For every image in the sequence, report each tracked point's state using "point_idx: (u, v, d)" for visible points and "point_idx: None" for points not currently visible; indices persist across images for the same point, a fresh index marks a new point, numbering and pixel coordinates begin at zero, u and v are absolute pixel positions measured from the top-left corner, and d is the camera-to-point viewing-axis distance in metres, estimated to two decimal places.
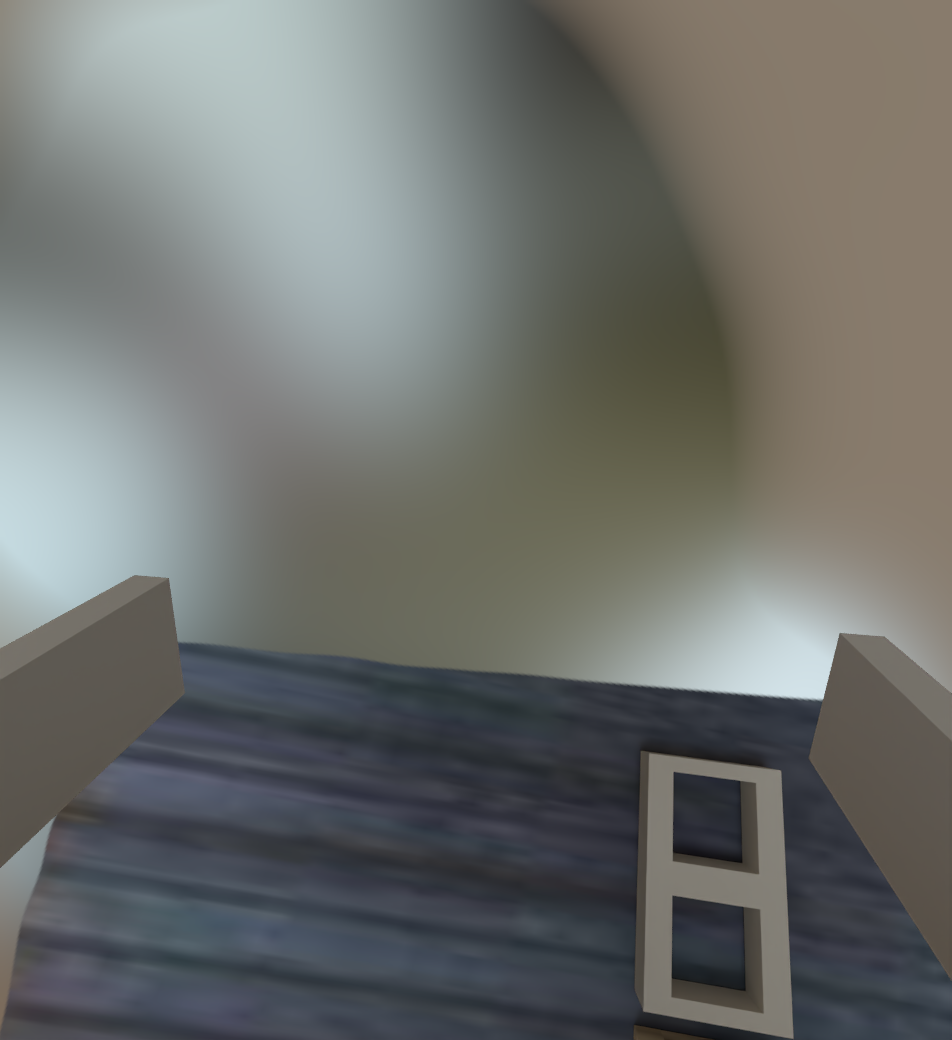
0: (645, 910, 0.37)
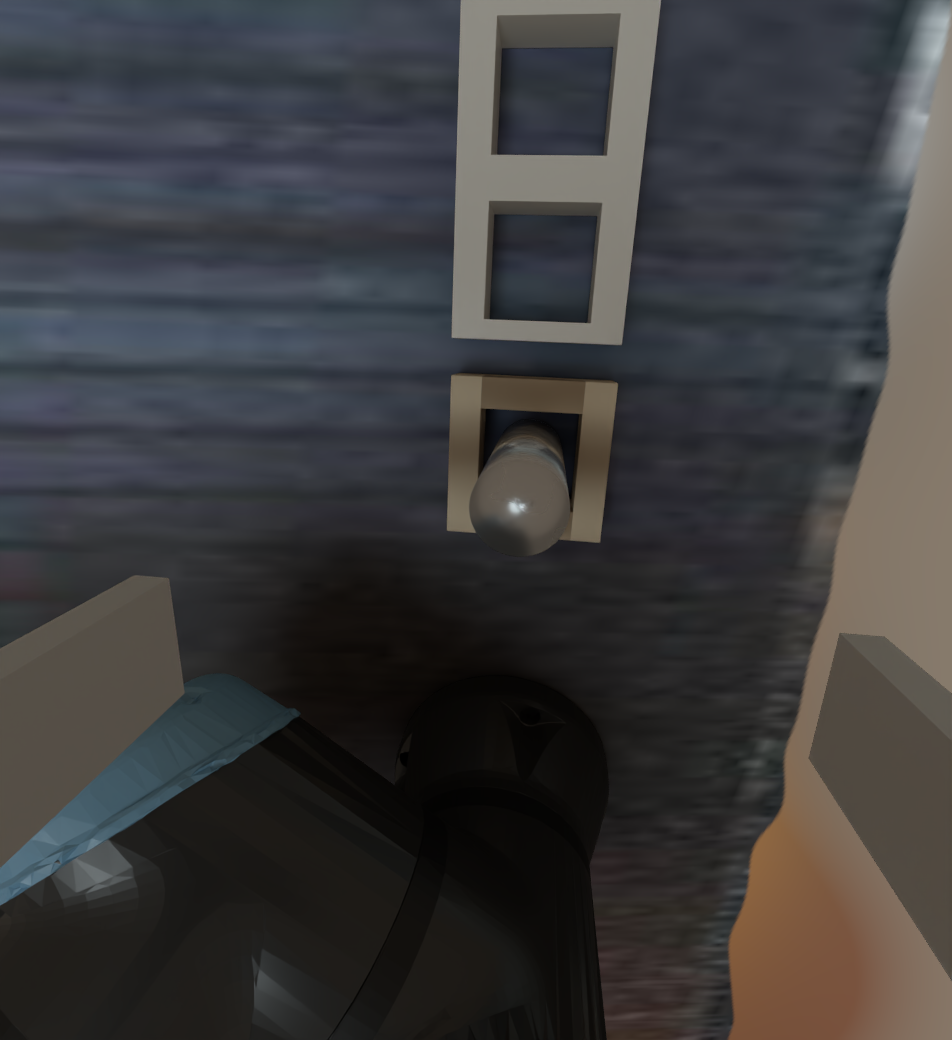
0: (455, 225, 0.29)
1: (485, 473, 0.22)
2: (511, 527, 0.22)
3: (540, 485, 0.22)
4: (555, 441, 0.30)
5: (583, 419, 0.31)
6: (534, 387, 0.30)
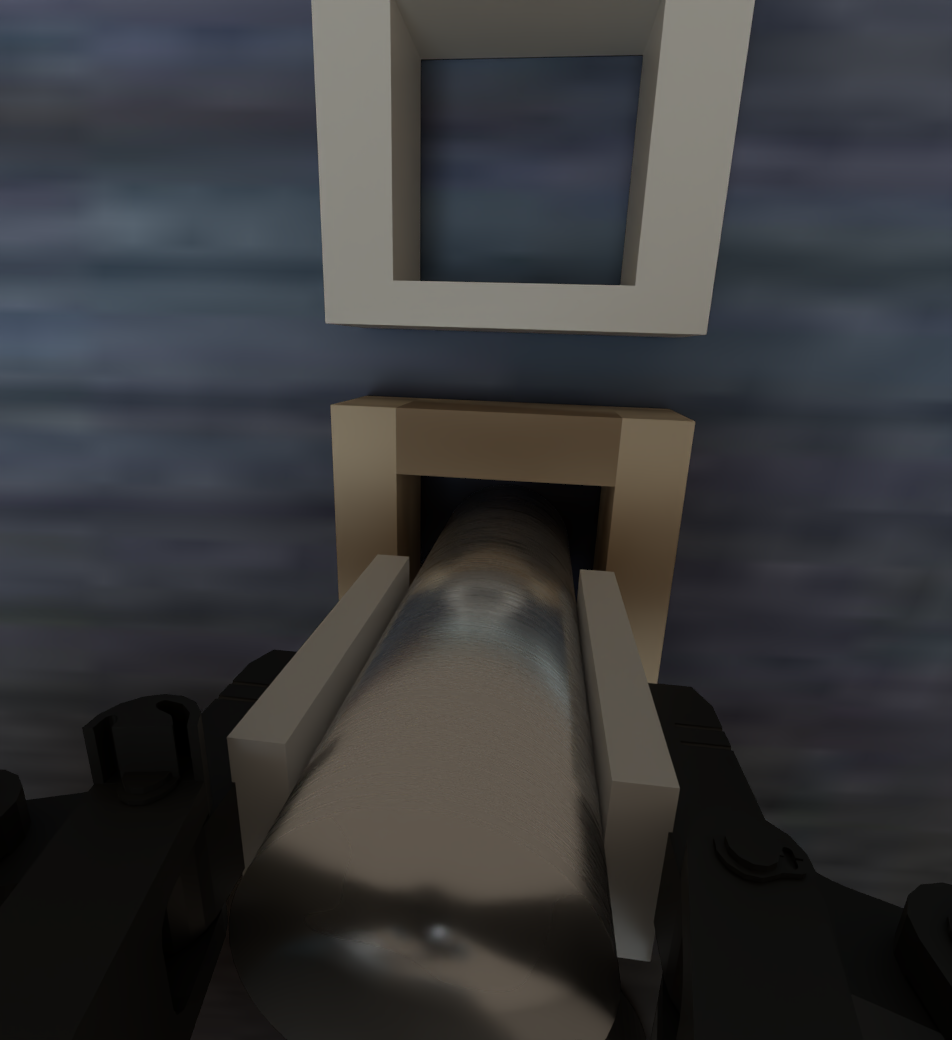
0: None
1: (275, 847, 0.05)
2: (394, 1022, 0.06)
3: (497, 905, 0.05)
4: (555, 552, 0.13)
5: (616, 498, 0.14)
6: (509, 430, 0.14)
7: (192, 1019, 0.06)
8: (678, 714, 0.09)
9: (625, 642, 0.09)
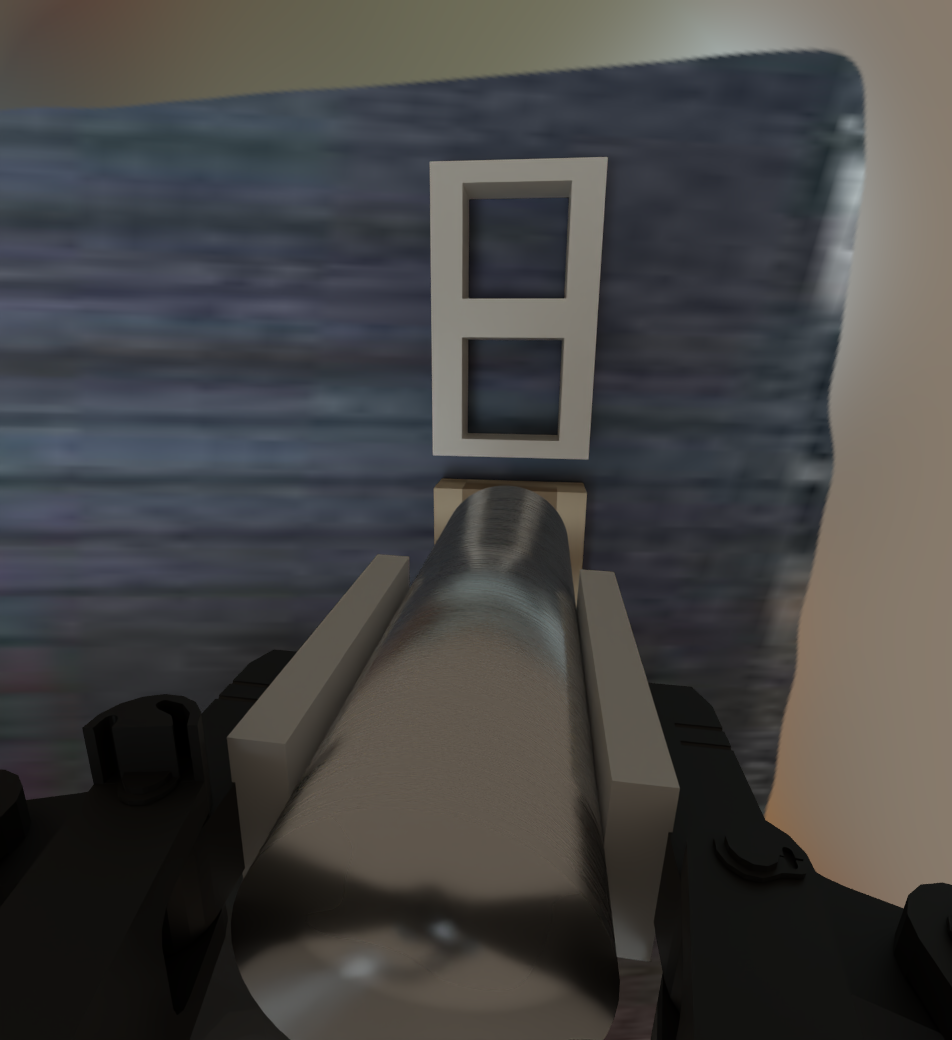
0: (432, 358, 0.32)
1: (277, 846, 0.05)
2: (396, 1021, 0.06)
3: (497, 903, 0.05)
4: (555, 553, 0.14)
5: None
6: None
7: (193, 1019, 0.06)
8: (678, 714, 0.09)
9: (625, 642, 0.09)
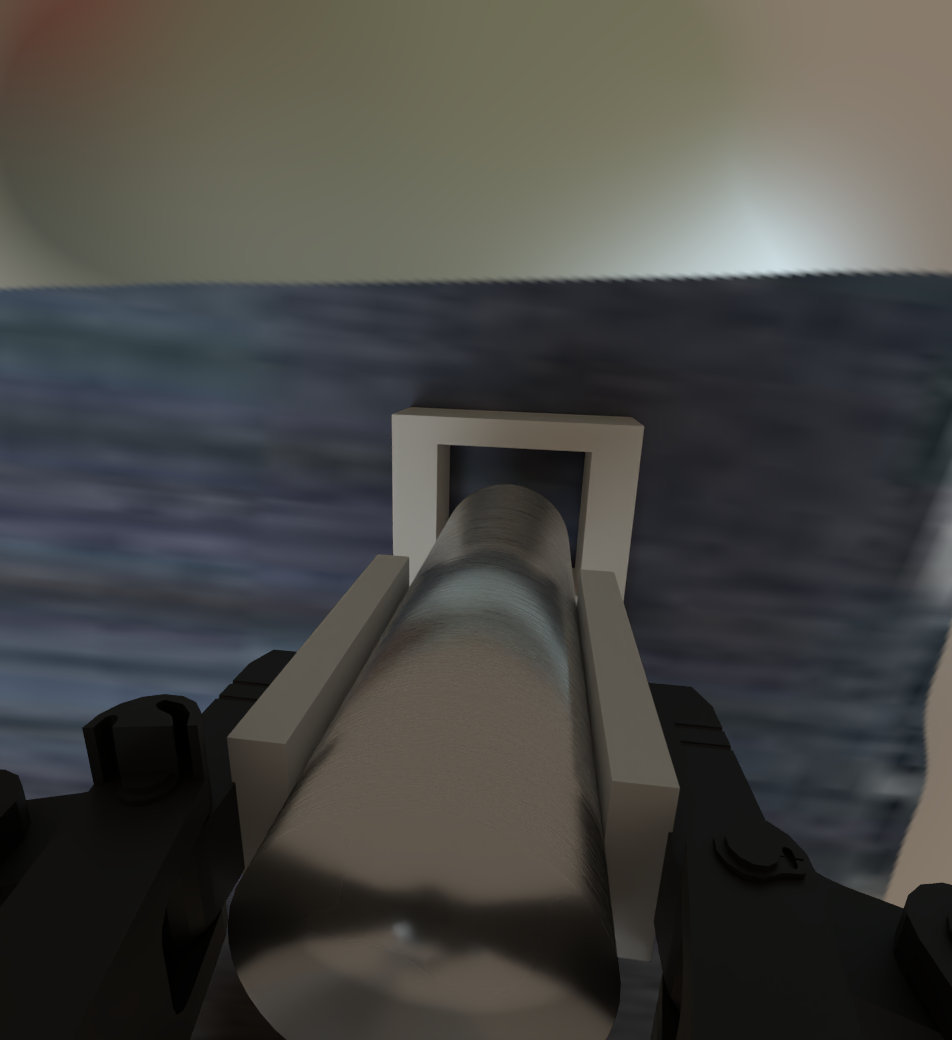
0: None
1: (274, 846, 0.05)
2: (395, 1022, 0.06)
3: (497, 904, 0.05)
4: (556, 552, 0.13)
5: None
6: None
7: (193, 1019, 0.06)
8: (678, 714, 0.09)
9: (625, 642, 0.09)
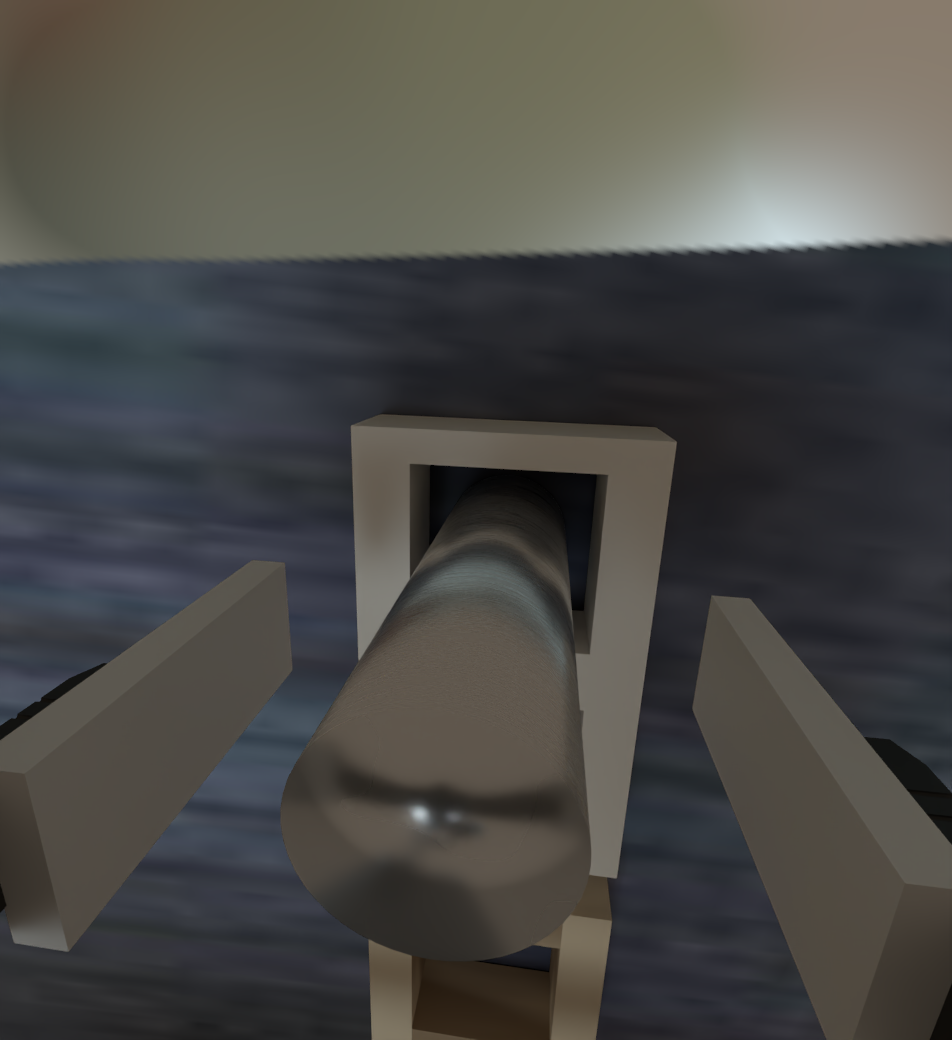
0: None
1: (319, 742, 0.07)
2: (412, 889, 0.07)
3: (494, 786, 0.07)
4: (551, 533, 0.15)
5: (561, 954, 0.21)
6: None
7: None
8: None
9: (812, 688, 0.08)
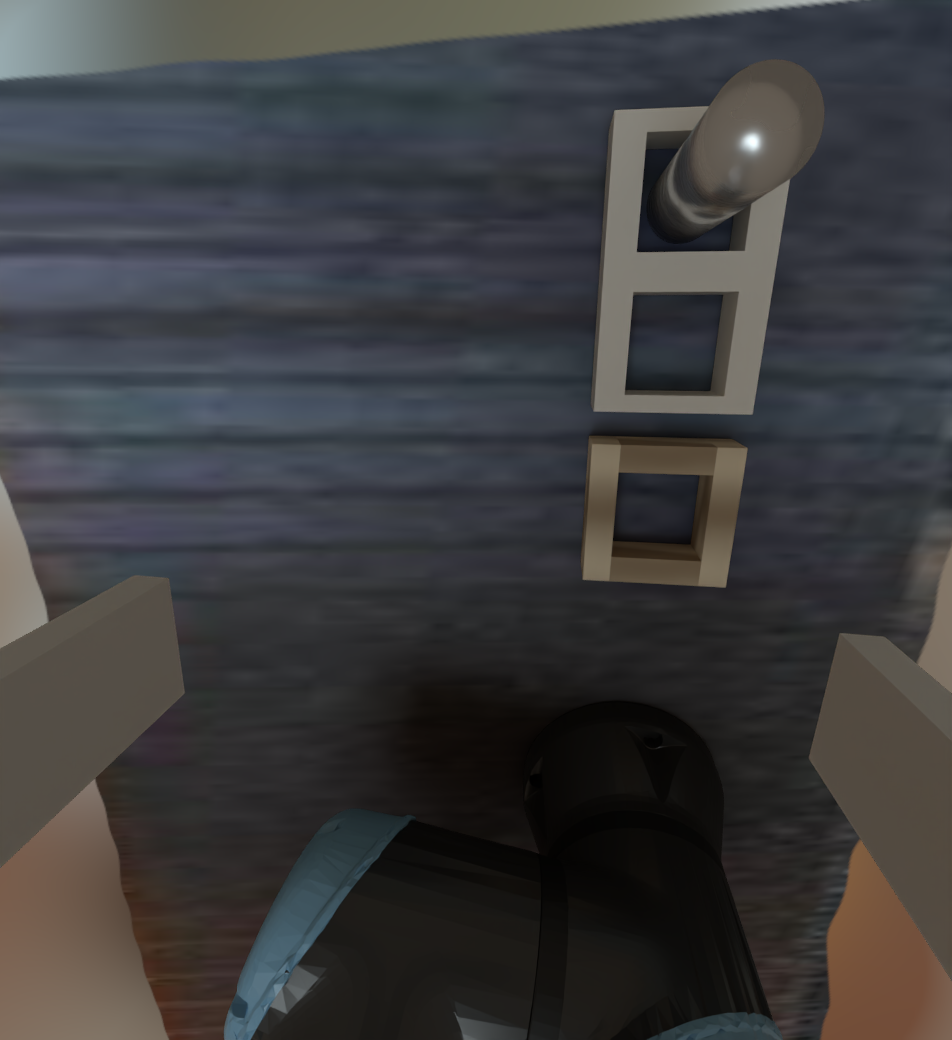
0: (600, 314, 0.32)
1: (727, 84, 0.20)
2: (752, 153, 0.20)
3: (791, 92, 0.19)
4: None
5: (714, 480, 0.34)
6: (669, 453, 0.34)
7: None
8: None
9: None
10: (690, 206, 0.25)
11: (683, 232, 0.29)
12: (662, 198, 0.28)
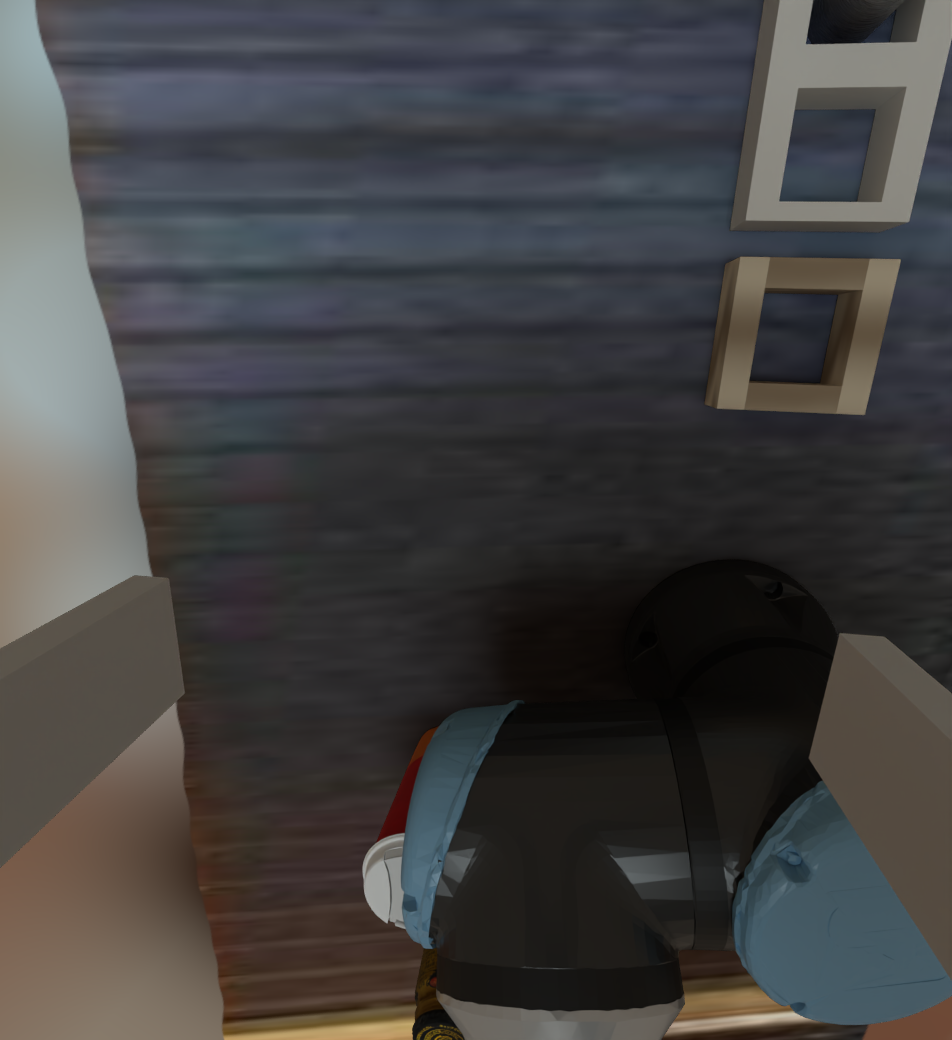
0: (761, 113, 0.32)
1: None
2: None
3: None
4: None
5: (863, 295, 0.34)
6: (819, 265, 0.33)
7: None
8: None
9: None
10: None
11: (858, 18, 0.29)
12: None
